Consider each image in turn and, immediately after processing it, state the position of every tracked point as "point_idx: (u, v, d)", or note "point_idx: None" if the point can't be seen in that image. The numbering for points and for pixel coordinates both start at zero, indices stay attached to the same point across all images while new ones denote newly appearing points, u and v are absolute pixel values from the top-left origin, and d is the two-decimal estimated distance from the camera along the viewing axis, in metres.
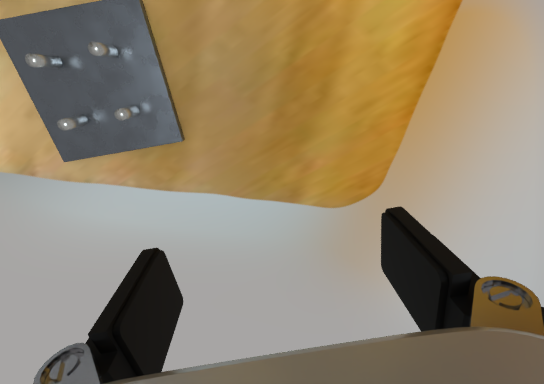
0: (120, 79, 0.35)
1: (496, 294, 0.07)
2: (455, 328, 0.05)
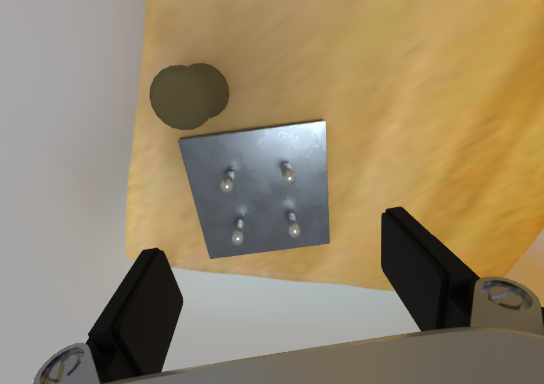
0: (286, 191, 0.36)
1: (496, 294, 0.07)
2: (455, 328, 0.05)
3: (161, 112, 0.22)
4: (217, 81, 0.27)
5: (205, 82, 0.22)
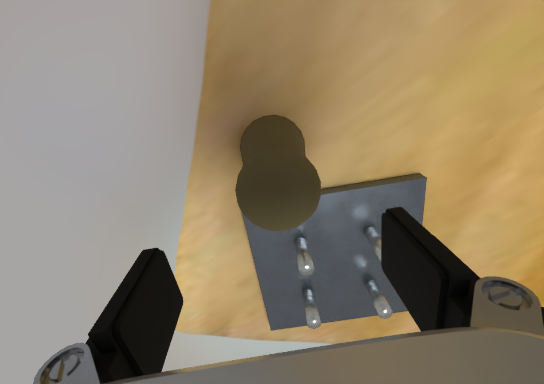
0: (368, 257, 0.29)
1: (496, 294, 0.07)
2: (455, 328, 0.05)
3: (254, 216, 0.15)
4: (301, 144, 0.21)
5: (315, 171, 0.15)
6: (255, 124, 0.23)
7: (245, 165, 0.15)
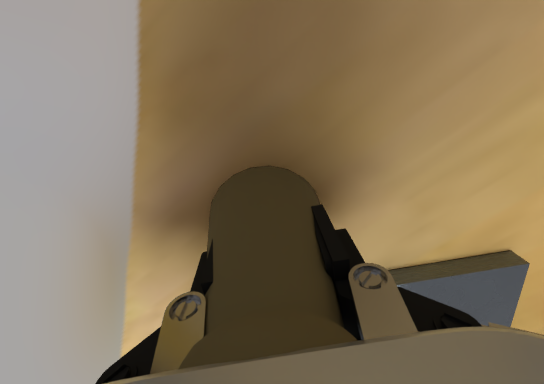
0: None
1: (364, 279, 0.08)
2: (455, 328, 0.05)
3: None
4: None
5: None
6: (234, 186, 0.12)
7: None
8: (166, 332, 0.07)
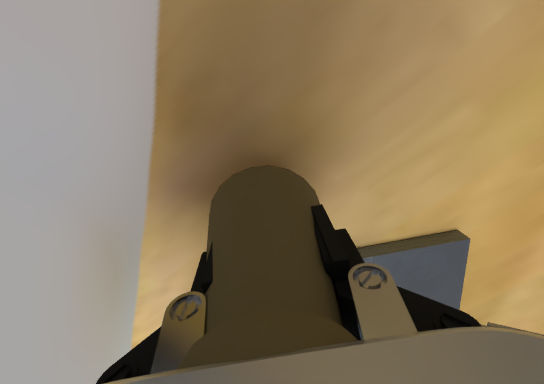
0: None
1: (363, 279, 0.08)
2: (455, 328, 0.05)
3: None
4: None
5: None
6: (234, 185, 0.12)
7: None
8: (166, 332, 0.07)
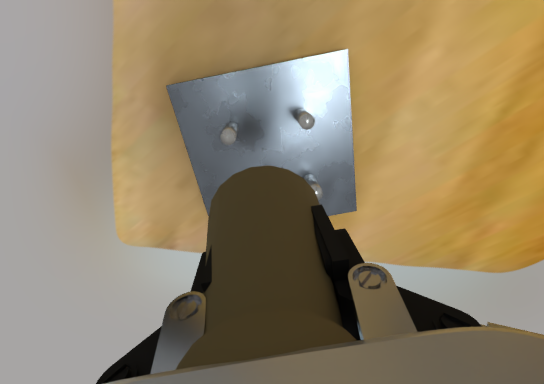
0: (302, 146, 0.29)
1: (363, 279, 0.08)
2: (455, 328, 0.05)
3: None
4: None
5: None
6: (234, 185, 0.12)
7: None
8: (166, 332, 0.07)
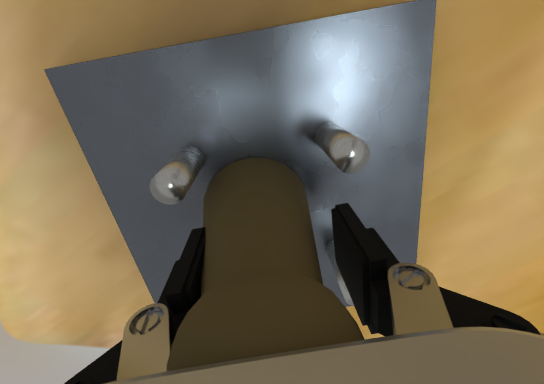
0: (327, 192, 0.15)
1: (404, 279, 0.07)
2: (455, 328, 0.05)
3: None
4: (310, 221, 0.12)
5: None
6: (233, 171, 0.13)
7: (195, 328, 0.06)
8: (123, 347, 0.07)
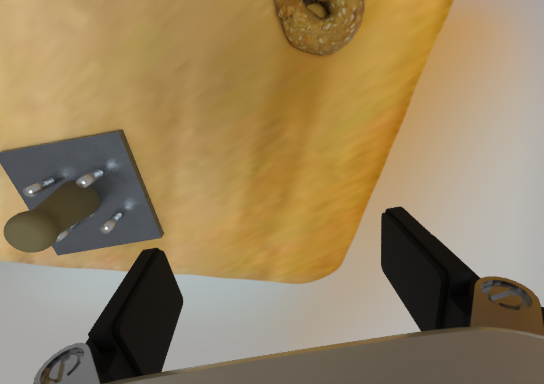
0: (105, 193, 0.41)
1: (496, 294, 0.07)
2: (455, 328, 0.05)
3: (11, 244, 0.31)
4: (79, 202, 0.37)
5: (45, 226, 0.31)
6: (61, 185, 0.39)
7: None
8: None
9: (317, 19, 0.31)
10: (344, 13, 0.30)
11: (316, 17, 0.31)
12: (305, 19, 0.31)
